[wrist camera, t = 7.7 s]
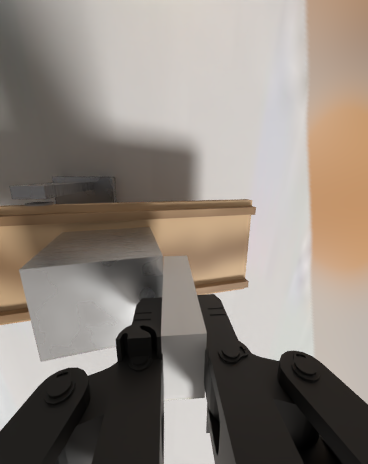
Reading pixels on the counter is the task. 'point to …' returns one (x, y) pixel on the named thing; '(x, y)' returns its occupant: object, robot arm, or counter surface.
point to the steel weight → (89, 288)
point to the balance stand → (70, 190)
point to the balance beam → (130, 216)
